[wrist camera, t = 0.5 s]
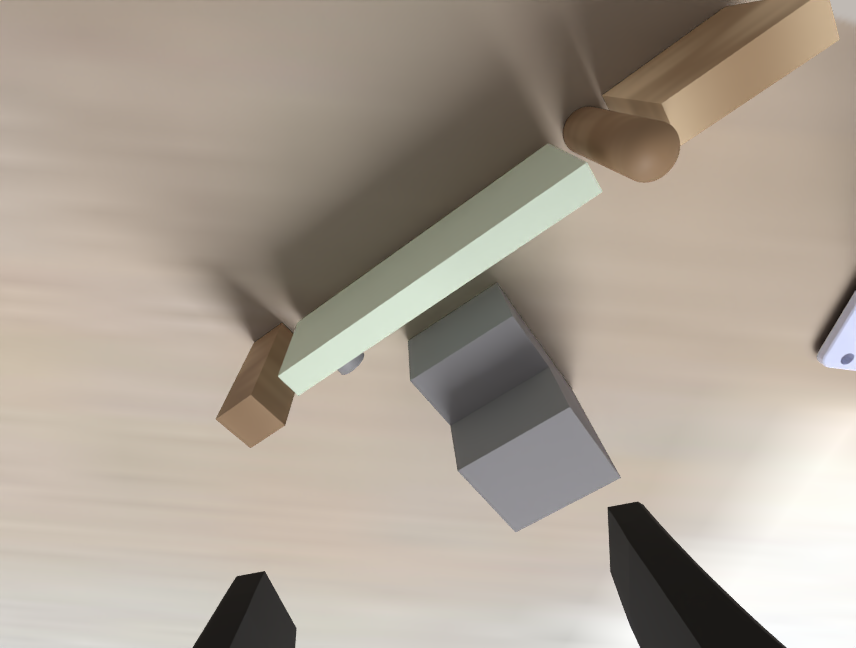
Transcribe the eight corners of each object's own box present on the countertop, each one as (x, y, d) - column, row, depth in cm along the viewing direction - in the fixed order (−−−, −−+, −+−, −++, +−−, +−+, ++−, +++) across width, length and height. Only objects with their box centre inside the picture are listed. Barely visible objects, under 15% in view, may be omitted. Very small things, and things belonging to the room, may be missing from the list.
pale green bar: (548, 143, 16) (587, 162, 12) (573, 187, 16) (615, 216, 13) (297, 322, 18) (277, 376, 15) (328, 354, 19) (316, 412, 15)
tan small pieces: (724, 3, 14) (851, -21, 10) (739, 48, 15) (866, 42, 11) (253, 342, 18) (215, 418, 14) (280, 368, 19) (250, 447, 15)
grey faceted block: (496, 281, 18) (529, 351, 14) (571, 388, 21) (620, 477, 16) (408, 339, 19) (412, 422, 15) (490, 435, 21) (515, 532, 17)
